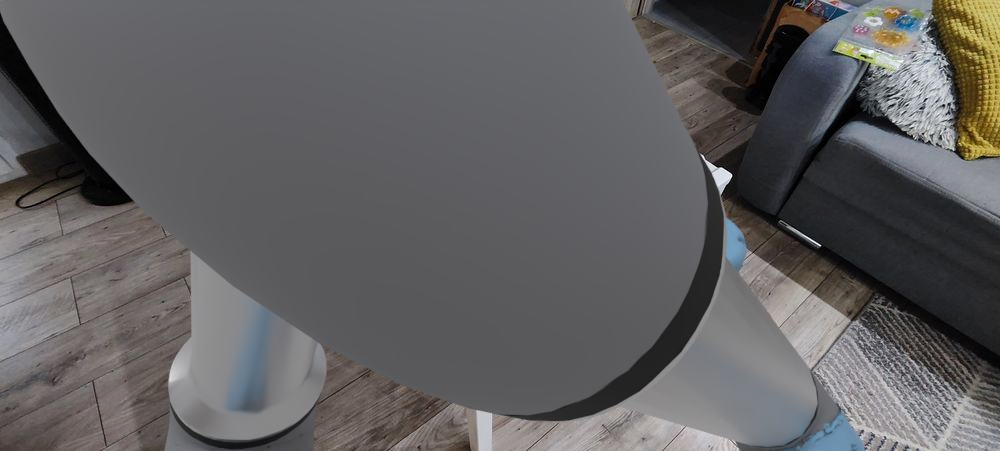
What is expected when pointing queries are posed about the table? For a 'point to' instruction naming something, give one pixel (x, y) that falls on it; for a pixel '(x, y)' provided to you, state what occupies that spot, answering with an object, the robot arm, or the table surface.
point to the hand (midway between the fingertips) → (465, 174)
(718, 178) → the table surface
